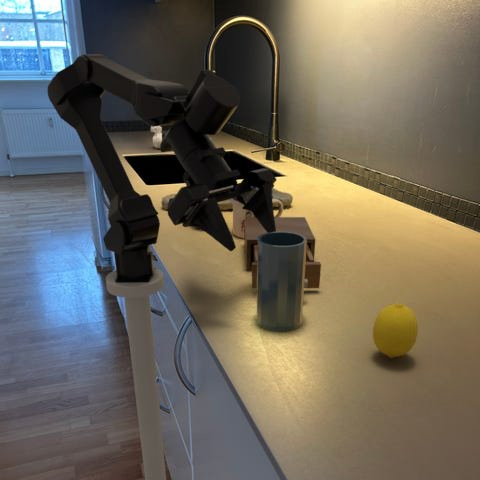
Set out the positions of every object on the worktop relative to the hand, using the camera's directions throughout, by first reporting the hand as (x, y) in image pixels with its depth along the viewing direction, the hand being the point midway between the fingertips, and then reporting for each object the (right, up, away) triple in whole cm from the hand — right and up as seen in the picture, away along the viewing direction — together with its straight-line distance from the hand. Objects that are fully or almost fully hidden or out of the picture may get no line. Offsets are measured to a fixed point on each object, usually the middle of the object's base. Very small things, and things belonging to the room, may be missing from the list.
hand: (254, 241), depth 75 cm
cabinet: (+5, +1, +27) cm, 28 cm away
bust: (-37, +64, +151) cm, 169 cm away
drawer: (+6, -4, +15) cm, 17 cm away
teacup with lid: (+2, +8, +41) cm, 42 cm away
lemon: (+18, -17, -7) cm, 26 cm away
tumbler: (+4, -12, +2) cm, 12 cm away
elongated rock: (-5, +19, +62) cm, 65 cm away
